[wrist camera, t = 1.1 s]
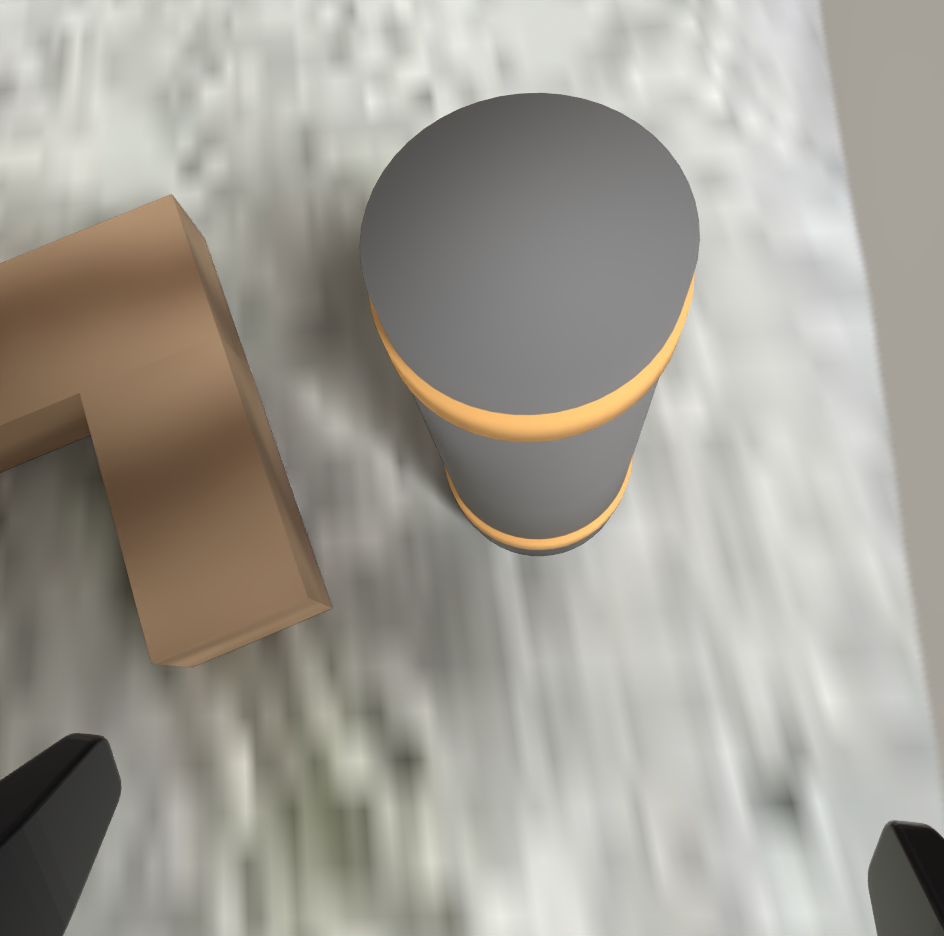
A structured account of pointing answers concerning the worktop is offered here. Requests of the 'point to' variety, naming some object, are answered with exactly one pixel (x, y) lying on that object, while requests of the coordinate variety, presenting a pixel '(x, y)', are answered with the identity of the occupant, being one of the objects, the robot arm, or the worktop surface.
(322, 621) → the worktop surface
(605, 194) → the orange banded cylinder
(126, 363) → the tan u-shaped stand
